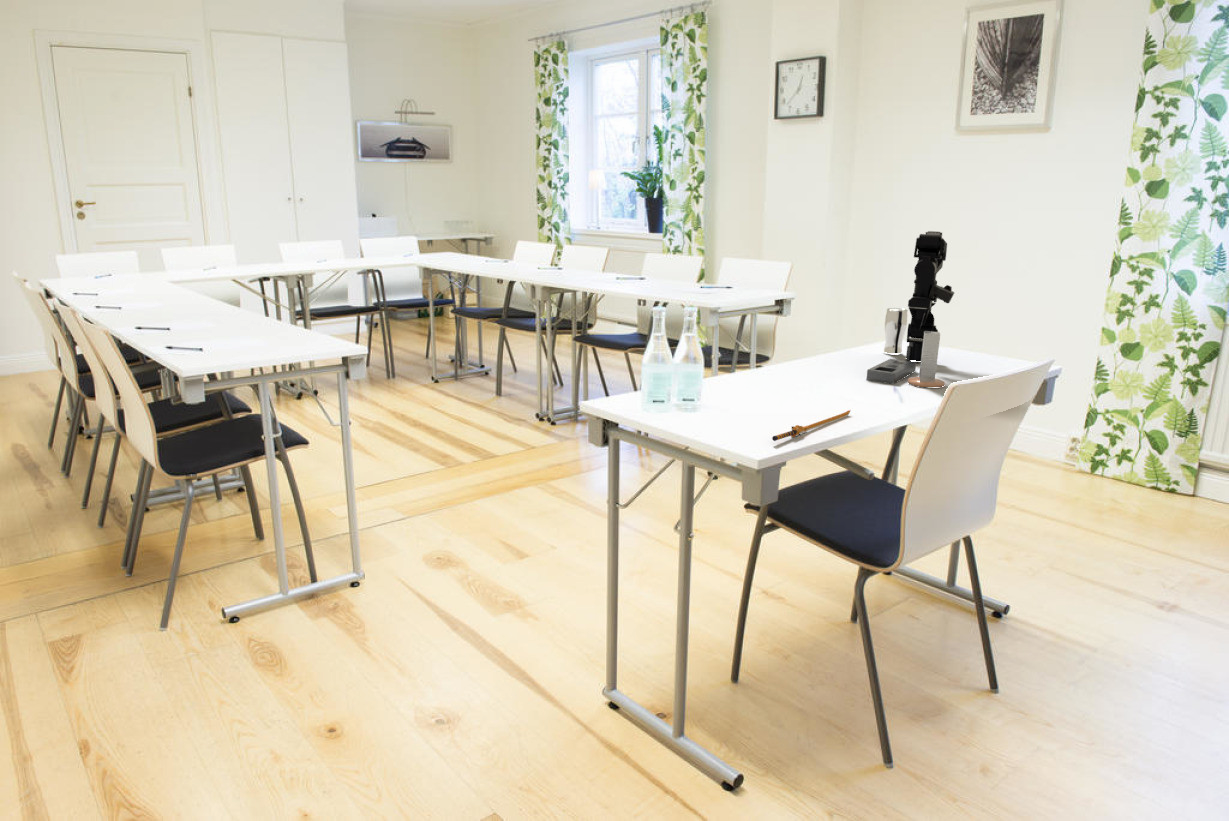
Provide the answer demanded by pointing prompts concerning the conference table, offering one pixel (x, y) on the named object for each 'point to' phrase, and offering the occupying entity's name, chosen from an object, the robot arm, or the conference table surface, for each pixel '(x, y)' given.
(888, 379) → the rack rail
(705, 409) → the conference table surface
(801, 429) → the katana
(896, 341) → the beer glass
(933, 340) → the steel peg
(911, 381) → the terracotta coaster
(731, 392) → the conference table surface
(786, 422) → the conference table surface
